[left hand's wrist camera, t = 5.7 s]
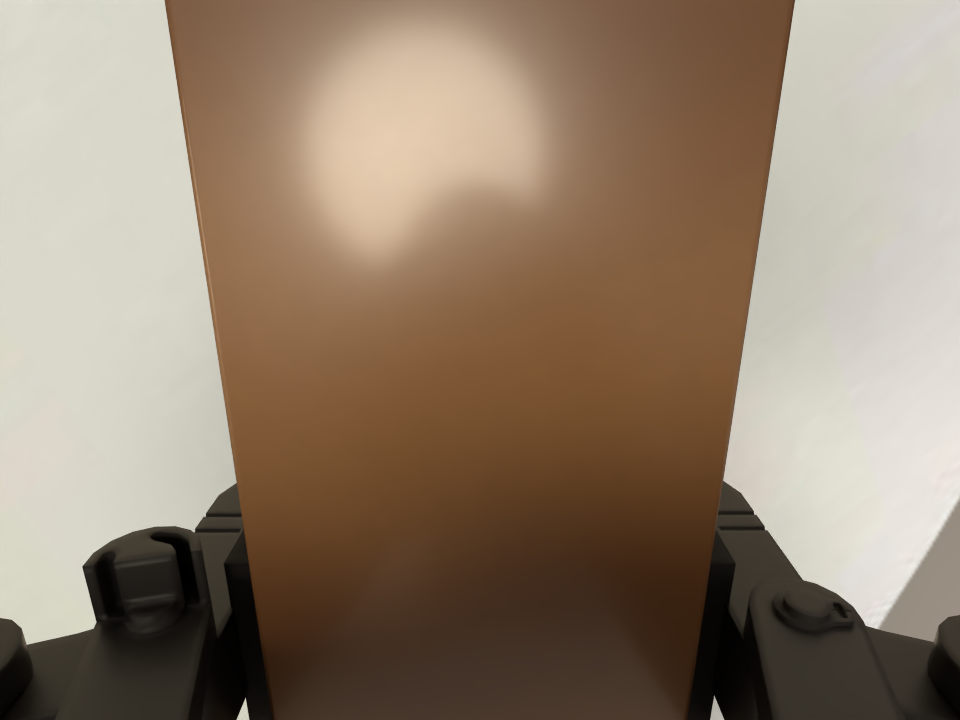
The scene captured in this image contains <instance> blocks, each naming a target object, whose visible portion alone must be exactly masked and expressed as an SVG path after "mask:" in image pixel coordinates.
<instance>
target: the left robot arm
mask: <svg viewBox="0 0 960 720" xmlns="http://www.w3.org/2000/svg"><path fill="white" fill-rule="evenodd" d="M82 567H83V571H84V575H85V579H86V583H87V586H88V590H89V594H90V598H91V602H92V606H93V610H94V614H95V617H96V621H97V623H96V625H95V627H94V629H91V630H88V631H85V632H81V633H78V634H73V635H69V636H65V637H60V638H56V639H51V640H47V641H42V642H38V643H33V644H29V645H26V641H25V638H24V635H23V632H22V628H20V627H19V626H18V625H17V624H16V623H15V622H14V621H12V620H9V619H3V618H0V720H237V717H238V715H239V712H240V710H241V707H242V705H243V702H244V700H245V698H246V701H247V707H248V713H249V720H272V715H271V708H270V701H269V695H268V688H267V681H266V674H265V668H264V661H263V654H262V648H261V641H260V634H259V628H258V621H257V614H256V608H255V601H254V594H253V588H252V581H251V574H250V567H249V561H248V554H247V547H246V541H245V534H244V527H243V521H242V514H241V507H240V501H239V494H238V487H237V483H236V484H235V485H233V486H232V487H230V488H229V489H227V490H226V491H224V492H223V493H221V494H220V495H219V496H218V497H217V499H216V500H215V502H214V503H213V504H212V506H211V507H210V509H209V510H208V512H207V513H206V517H203V519H202V520H201V521H200V523H199V524H198V526H197V527H196V528H195V533H193V532H192V531H191V530H188V529H184V528H180V527H176V526H169V527H152V528H148V529H144V530H139V531H135V532H132V533H129V534H127V535H124V536H122V537H120V538H117V539H115V540H113V541H111V542H109V543H108V544H106V545H105V546H103V547H102V548H100V549H99V550H97V551H96V552H94V553H93V554H92V556H91V557H90V558H89V559H88V560H87V562H86V563H85V564H84V565H83V566H82ZM714 696H715V698H716V700H717V703H718V705H719V708H720V710H721V713H722V715H723V717H724V720H960V615H959V616H952V617H948V618H947V619H946V620H945V621H943V622H942V623H941V624H940V625H939V627H938V630H937V633H936V636H935V639H934V642H930V641H926V640H921V639H917V638H912V637H908V636H903V635H899V634H894V633H890V632H885V631H881V630H878V629H874V628H871V627H868V626H865V624H864V621H863V620H862V619H861V617H860V616H859V614H858V613H857V612H856V610H855V609H854V607H853V606H852V605H850V604H849V603H848V602H846V601H845V600H844V599H843V598H841V597H840V596H839V595H837V594H836V593H834V592H832V591H830V590H828V589H826V588H824V587H822V586H820V585H817V584H815V583H811V582H807V581H803V580H802V578H801V577H800V575H799V574H798V573H797V571H796V570H795V568H794V567H793V566H792V564H791V563H790V561H789V560H788V559H787V557H786V556H785V554H784V553H783V552H782V550H781V549H780V547H779V546H778V545H777V543H776V542H775V540H774V539H773V538H772V536H771V535H770V533H769V532H768V531H767V530H765V526H764V525H763V524H762V522H761V521H760V519H759V518H758V516H757V515H754V511H753V509H752V508H751V507H750V505H749V504H748V502H747V501H746V500H745V498H744V497H743V495H742V494H741V493H740V492H739V491H737V490H736V489H734V488H733V487H731V486H730V485H728V484H727V483H725V482H724V481H723V484H722V491H721V498H720V504H719V511H718V518H717V524H716V531H715V538H714V544H713V551H712V558H711V565H710V571H709V578H708V585H707V591H706V598H705V605H704V611H703V618H702V625H701V631H700V638H699V645H698V652H697V658H696V665H695V672H694V678H693V685H692V692H691V698H690V705H689V712H688V718H687V720H710V717H711V711H712V705H713V699H714Z"/></svg>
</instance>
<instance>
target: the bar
mask: <svg viewBox="0 0 960 720" xmlns="http://www.w3.org/2000/svg"><path fill="white" fill-rule="evenodd" d="M794 3H795V0H165V6H166V12H167V19H168V26H169V32H170V39H171V46H172V52H173V59H174V66H175V72H176V79H177V86H178V93H179V99H180V106H181V113H182V119H183V126H184V133H185V139H186V146H187V153H188V159H189V166H190V173H191V179H192V186H193V193H194V200H195V206H196V213H197V220H198V226H199V233H200V240H201V246H202V253H203V260H204V266H205V273H206V280H207V286H208V293H209V300H210V307H211V313H212V320H213V327H214V333H215V340H216V347H217V353H218V360H219V367H220V373H221V380H222V387H223V394H224V400H225V407H226V414H227V420H228V427H229V434H230V440H231V447H232V454H233V460H234V467H235V474H236V480H237V487H238V494H239V501H240V507H241V514H242V521H243V527H244V534H245V541H246V547H247V554H248V561H249V567H250V574H251V581H252V588H253V594H254V601H255V608H256V614H257V621H258V628H259V634H260V641H261V648H262V654H263V661H264V668H265V674H266V681H267V688H268V695H269V701H270V708H271V715H272V720H687V718H688V712H689V705H690V698H691V692H692V685H693V678H694V672H695V665H696V658H697V652H698V645H699V638H700V631H701V625H702V618H703V611H704V605H705V598H706V591H707V585H708V578H709V571H710V565H711V558H712V551H713V544H714V538H715V531H716V524H717V518H718V511H719V504H720V498H721V491H722V484H723V478H724V471H725V464H726V457H727V451H728V444H729V437H730V431H731V424H732V417H733V411H734V404H735V397H736V391H737V384H738V377H739V371H740V364H741V357H742V350H743V344H744V337H745V330H746V324H747V317H748V310H749V304H750V297H751V290H752V284H753V277H754V270H755V263H756V257H757V250H758V243H759V237H760V230H761V223H762V217H763V210H764V203H765V197H766V190H767V183H768V176H769V170H770V163H771V156H772V150H773V143H774V136H775V130H776V123H777V116H778V110H779V103H780V96H781V90H782V83H783V76H784V69H785V63H786V56H787V49H788V43H789V36H790V29H791V23H792V16H793V9H794Z"/></svg>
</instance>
